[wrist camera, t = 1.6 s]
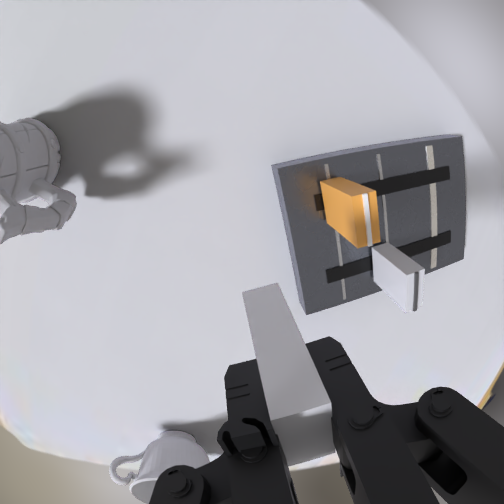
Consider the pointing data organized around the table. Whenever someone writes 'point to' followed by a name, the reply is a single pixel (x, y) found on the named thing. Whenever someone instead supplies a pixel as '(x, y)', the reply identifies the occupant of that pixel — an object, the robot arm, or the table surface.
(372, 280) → the console
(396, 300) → the fader white
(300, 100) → the table surface
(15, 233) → the mug
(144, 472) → the teacup
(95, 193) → the table surface
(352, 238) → the fader orange
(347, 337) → the table surface
